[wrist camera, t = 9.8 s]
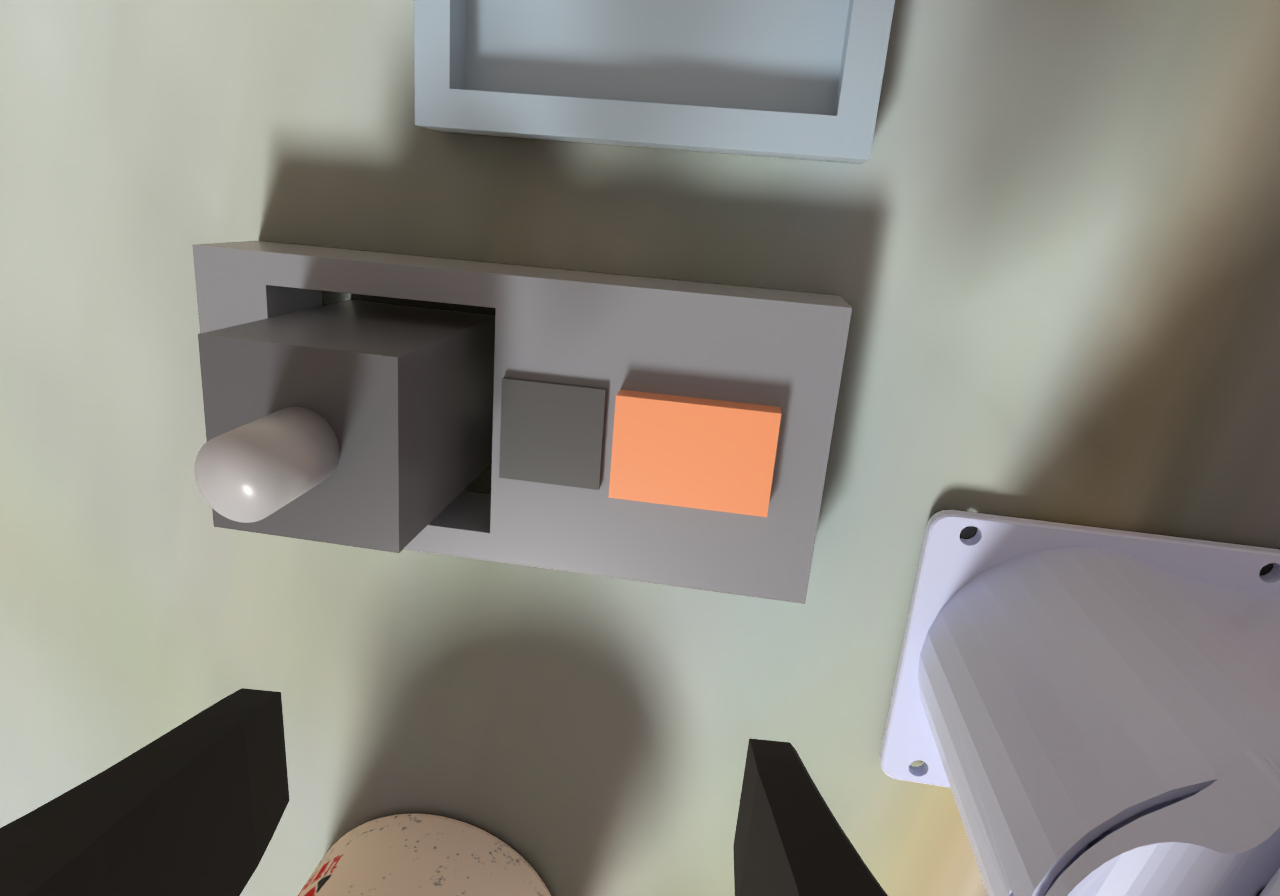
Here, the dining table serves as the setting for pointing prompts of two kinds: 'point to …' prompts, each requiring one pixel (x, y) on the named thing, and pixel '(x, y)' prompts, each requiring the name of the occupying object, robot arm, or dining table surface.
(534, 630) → the dining table surface
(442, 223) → the dining table surface
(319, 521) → the plug
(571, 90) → the tray
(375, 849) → the teacup with lid
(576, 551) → the power strip
